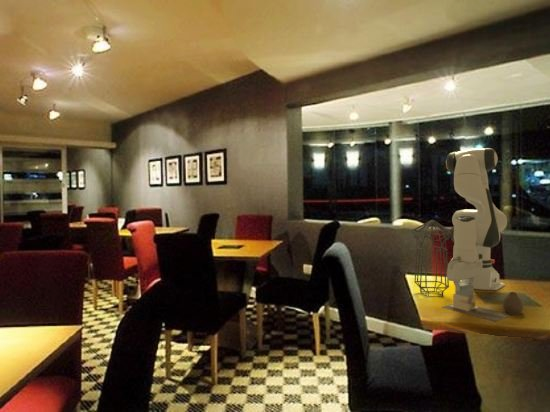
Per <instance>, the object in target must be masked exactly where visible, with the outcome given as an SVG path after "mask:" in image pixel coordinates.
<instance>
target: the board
mask: <svg viewBox="0 0 550 412" xmlns="http://www.w3.org/2000/svg"><path fill="white" fill-rule="evenodd" d="M441 308H443V309H447V310H451V311H453V312H458V313H462V314H465V315H468V316H471V317H476V318H480V319H484V320H488V321H492V322H495V323H496V322H498V321H501V320H503V319H504V320H505V319H507V318H509V317H512V316H513V315H514V314H509V313H506V312H503V311H497V310H493V309H489V308H486V307H482V306H481V307H480V306H476V305H475V307H474V308H470V309H463V308H459V307H455V306H453V303H452V304H449V305H448V304H447V305H445V306H441Z"/></svg>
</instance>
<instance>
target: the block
mask: <svg viewBox="0 0 550 412" xmlns="http://www.w3.org/2000/svg"><path fill="white" fill-rule="evenodd" d="M452 298H453V301H452V304H453V306H455V307H459V308H463V309H470V308H474V307H475V306H476V294H474V295H471V296H468V297H466V296H461V295H457V294H455V293H453V294H452Z"/></svg>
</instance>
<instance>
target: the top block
mask: <svg viewBox="0 0 550 412" xmlns="http://www.w3.org/2000/svg"><path fill="white" fill-rule="evenodd" d="M459 284H460V286H461V291H456V290H455V289H454V291H455V292H454V294H457V295H461V296H466V297H468V296H471V295H475V294H474V293H475V289H474V285H470V284H465V283H459Z"/></svg>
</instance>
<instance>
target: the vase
mask: <svg viewBox="0 0 550 412" xmlns="http://www.w3.org/2000/svg"><path fill="white" fill-rule="evenodd" d="M502 307H503V308H502V309H503V311H504V313H506V314H510V315H521V314H522V313H523V311H524V303H523V301H522V299H521V298H520V296H519V295H518V293H517V292H514V291H513V292H512V291H510V292H508V295H507V296H506V297H505V298H504V299H503V302H502Z"/></svg>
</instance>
